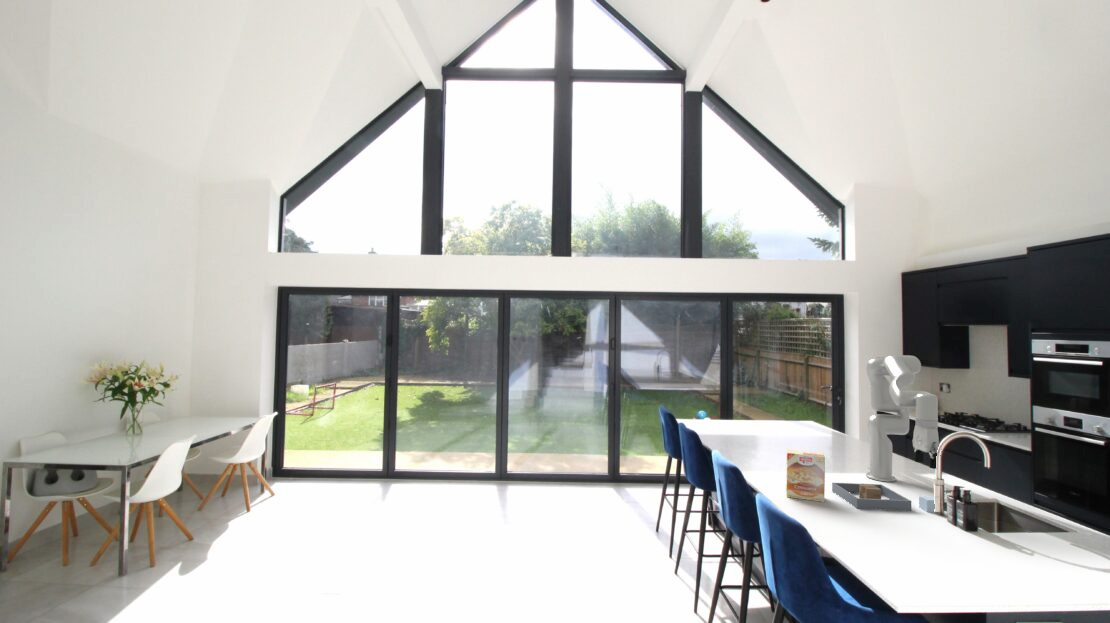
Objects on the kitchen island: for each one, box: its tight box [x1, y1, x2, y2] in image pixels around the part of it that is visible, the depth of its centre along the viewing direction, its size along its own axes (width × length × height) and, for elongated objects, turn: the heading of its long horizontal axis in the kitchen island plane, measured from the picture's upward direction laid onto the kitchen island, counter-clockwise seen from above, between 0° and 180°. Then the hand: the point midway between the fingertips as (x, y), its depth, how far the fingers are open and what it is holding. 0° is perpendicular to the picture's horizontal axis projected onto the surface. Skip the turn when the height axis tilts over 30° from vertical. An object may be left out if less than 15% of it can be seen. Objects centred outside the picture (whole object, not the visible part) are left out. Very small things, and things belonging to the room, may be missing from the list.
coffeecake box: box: [785, 449, 826, 503], centre depth 225 cm, size 15×7×20 cm, turn 68°
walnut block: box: [858, 483, 882, 499], centre depth 223 cm, size 6×6×6 cm
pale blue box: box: [918, 495, 935, 513], centre depth 213 cm, size 5×5×5 cm
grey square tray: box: [831, 482, 912, 512], centre depth 223 cm, size 22×22×4 cm
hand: (926, 464), depth 213 cm, fingers open, 9 cm apart
